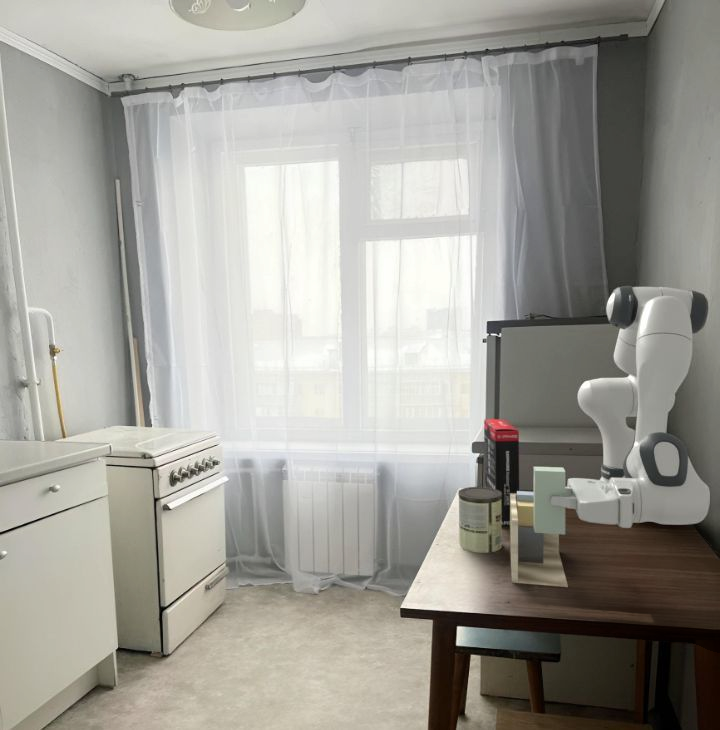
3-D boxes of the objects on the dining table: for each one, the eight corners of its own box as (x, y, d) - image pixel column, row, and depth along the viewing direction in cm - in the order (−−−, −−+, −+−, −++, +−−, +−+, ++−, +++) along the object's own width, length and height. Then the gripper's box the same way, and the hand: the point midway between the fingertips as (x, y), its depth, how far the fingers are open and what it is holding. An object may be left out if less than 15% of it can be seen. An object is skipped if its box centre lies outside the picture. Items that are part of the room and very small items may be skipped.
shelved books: (516, 549, 138) (516, 490, 137) (540, 551, 137) (541, 492, 136) (517, 560, 132) (517, 499, 131) (543, 562, 130) (543, 500, 130)
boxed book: (533, 526, 126) (533, 466, 125) (563, 528, 124) (563, 467, 124) (534, 532, 122) (534, 470, 121) (565, 534, 120) (565, 471, 120)
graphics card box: (521, 531, 154) (521, 428, 152) (494, 531, 154) (494, 428, 153) (506, 510, 171) (506, 418, 170) (482, 511, 171) (482, 418, 170)
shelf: (509, 551, 140) (510, 493, 139) (558, 555, 137) (558, 495, 137) (511, 587, 121) (511, 520, 120) (568, 592, 118) (568, 523, 117)
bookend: (517, 554, 135) (517, 520, 135) (541, 555, 134) (542, 521, 134) (517, 561, 131) (517, 526, 130) (543, 563, 130) (543, 528, 129)
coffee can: (460, 540, 148) (460, 485, 147) (502, 543, 145) (502, 487, 144) (456, 555, 138) (456, 496, 137) (501, 559, 135) (501, 499, 134)
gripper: (610, 472, 129) (545, 470, 132) (632, 498, 109) (554, 494, 113) (610, 500, 130) (545, 497, 133) (631, 531, 110) (554, 526, 113)
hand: (549, 496), depth 123 cm, fingers closed on boxed book, 4 cm apart
